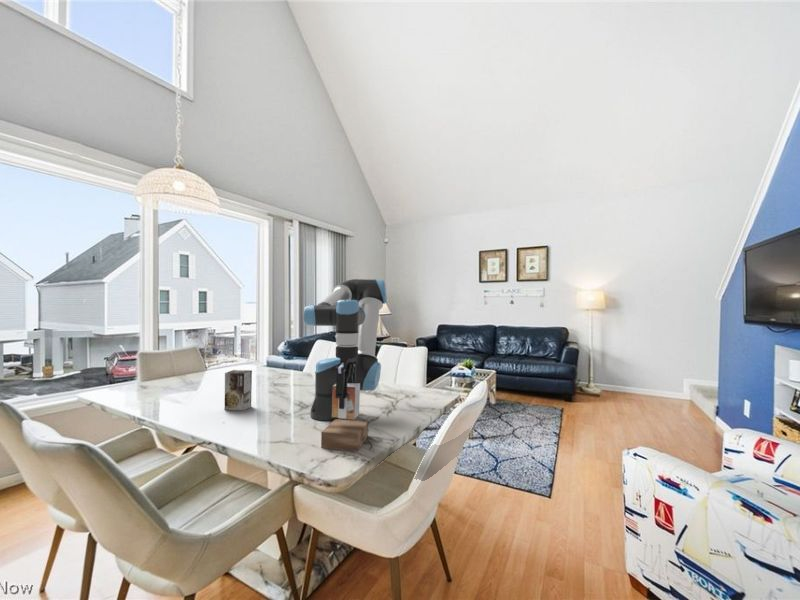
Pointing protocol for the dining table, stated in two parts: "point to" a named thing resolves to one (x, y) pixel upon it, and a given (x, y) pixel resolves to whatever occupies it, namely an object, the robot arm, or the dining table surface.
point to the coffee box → (238, 389)
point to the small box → (348, 400)
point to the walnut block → (344, 435)
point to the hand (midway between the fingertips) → (345, 414)
